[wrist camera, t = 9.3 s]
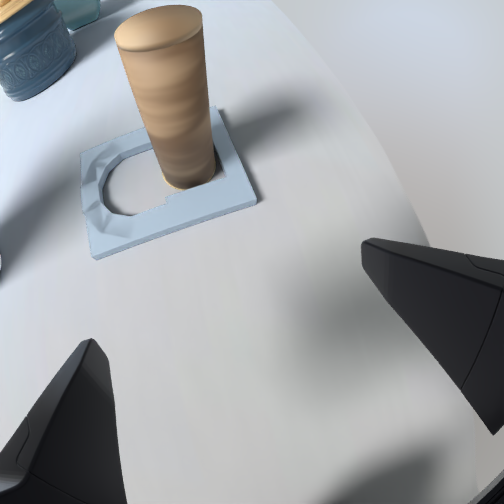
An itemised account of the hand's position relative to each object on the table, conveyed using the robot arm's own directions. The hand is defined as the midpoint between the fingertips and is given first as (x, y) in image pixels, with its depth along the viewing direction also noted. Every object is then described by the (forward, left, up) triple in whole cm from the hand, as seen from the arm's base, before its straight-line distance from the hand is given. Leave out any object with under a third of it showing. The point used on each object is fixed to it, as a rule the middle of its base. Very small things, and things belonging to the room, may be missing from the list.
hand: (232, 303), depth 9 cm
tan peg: (+10, +9, -13) cm, 19 cm away
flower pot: (+34, +47, -13) cm, 59 cm away
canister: (+19, +42, -13) cm, 48 cm away
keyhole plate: (+9, +11, -13) cm, 19 cm away
